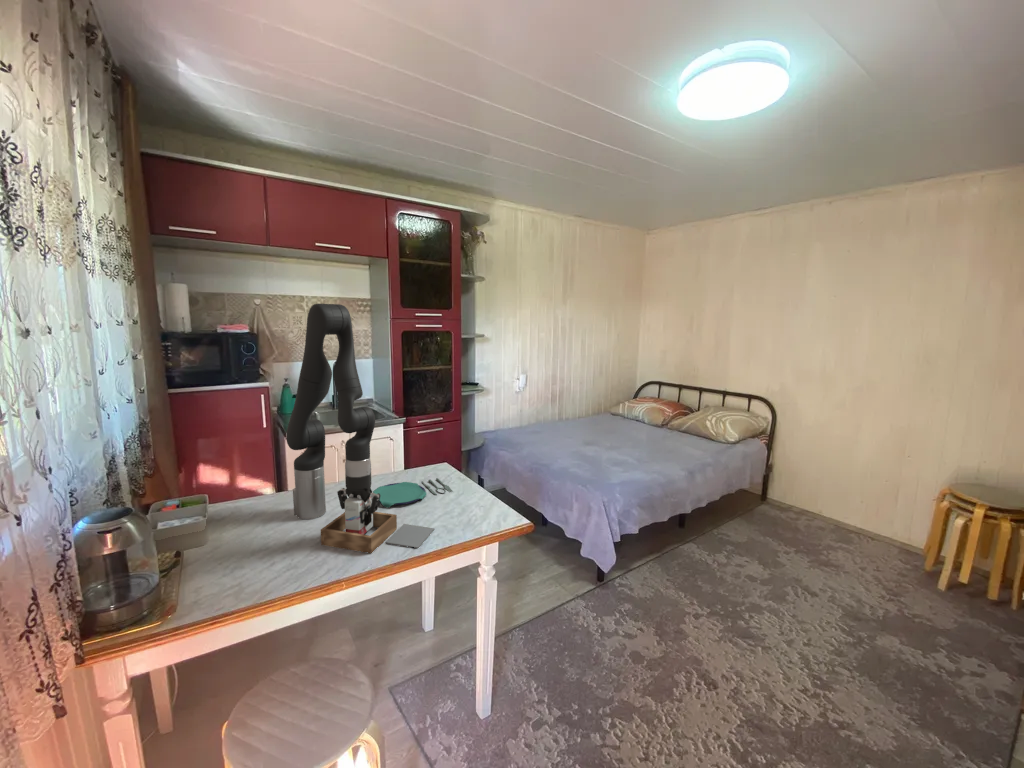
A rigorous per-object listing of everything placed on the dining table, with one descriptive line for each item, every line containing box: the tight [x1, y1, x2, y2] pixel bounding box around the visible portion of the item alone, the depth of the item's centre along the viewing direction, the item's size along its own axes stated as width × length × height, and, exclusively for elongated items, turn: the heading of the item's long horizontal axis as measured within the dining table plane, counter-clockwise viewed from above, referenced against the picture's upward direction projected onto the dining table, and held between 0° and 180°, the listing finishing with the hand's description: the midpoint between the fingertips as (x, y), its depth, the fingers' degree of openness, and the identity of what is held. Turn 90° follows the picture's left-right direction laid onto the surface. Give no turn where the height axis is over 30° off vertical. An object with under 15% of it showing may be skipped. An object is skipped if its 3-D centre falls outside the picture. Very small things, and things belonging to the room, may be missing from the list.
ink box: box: [344, 497, 373, 535], centre depth 131 cm, size 9×5×12 cm, turn 168°
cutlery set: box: [372, 477, 454, 509], centre depth 165 cm, size 20×30×2 cm, turn 124°
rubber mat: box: [384, 523, 436, 549], centre depth 133 cm, size 11×12×1 cm
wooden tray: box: [320, 511, 398, 554], centre depth 132 cm, size 17×15×5 cm
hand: (359, 522), depth 132 cm, fingers closed on ink box, 5 cm apart
